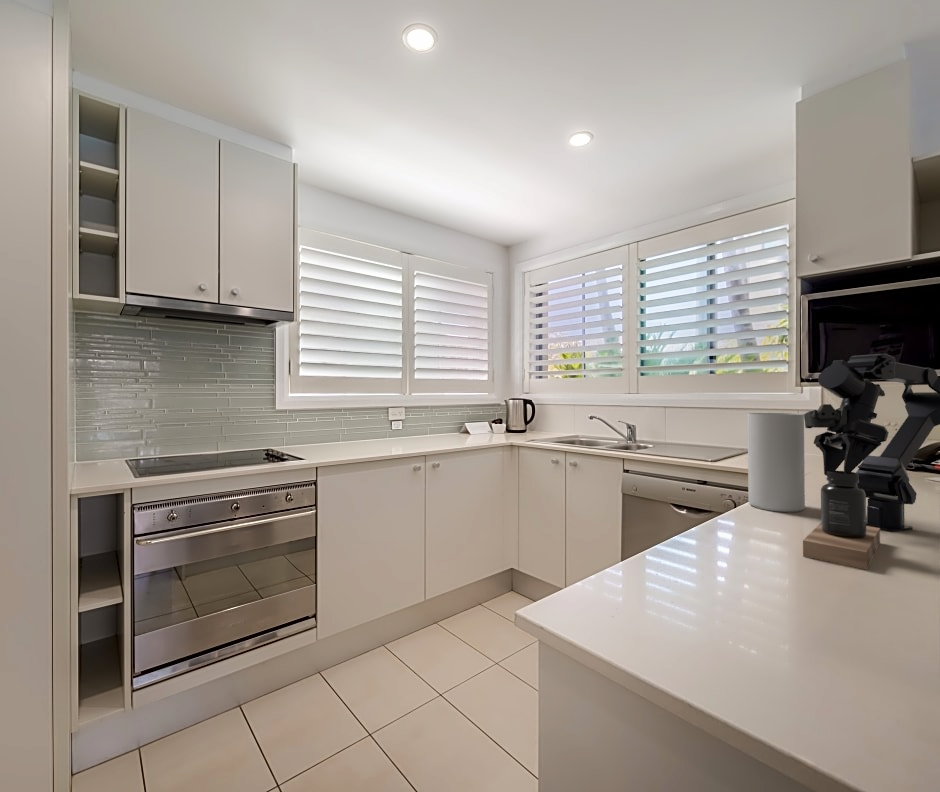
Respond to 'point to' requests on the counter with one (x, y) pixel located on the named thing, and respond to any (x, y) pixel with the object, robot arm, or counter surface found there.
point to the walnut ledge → (842, 547)
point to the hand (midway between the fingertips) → (836, 473)
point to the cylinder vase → (776, 461)
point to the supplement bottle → (843, 505)
